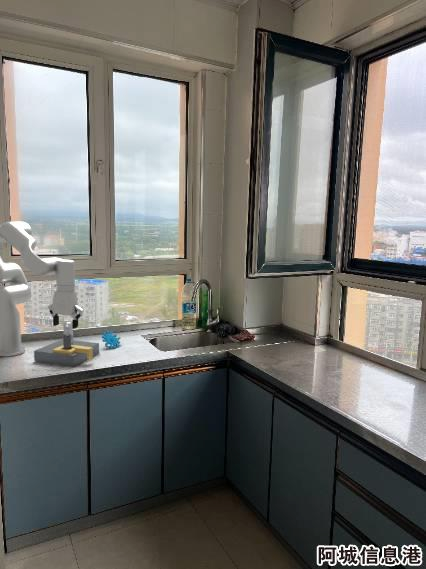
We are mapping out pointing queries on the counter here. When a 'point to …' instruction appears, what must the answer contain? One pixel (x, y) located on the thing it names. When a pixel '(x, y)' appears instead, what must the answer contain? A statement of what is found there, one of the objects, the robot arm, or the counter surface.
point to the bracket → (76, 350)
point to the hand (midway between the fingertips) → (65, 326)
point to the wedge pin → (67, 341)
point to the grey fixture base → (64, 359)
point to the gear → (111, 339)
